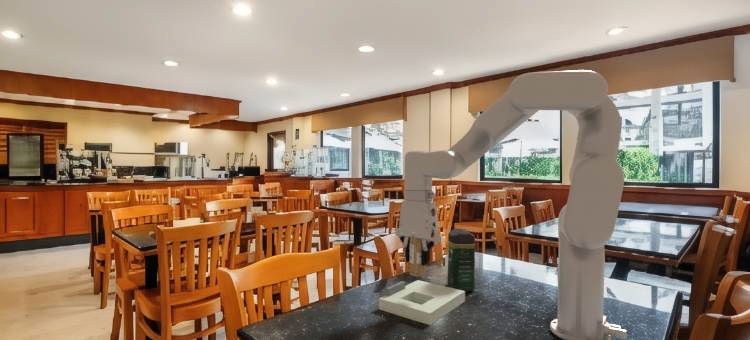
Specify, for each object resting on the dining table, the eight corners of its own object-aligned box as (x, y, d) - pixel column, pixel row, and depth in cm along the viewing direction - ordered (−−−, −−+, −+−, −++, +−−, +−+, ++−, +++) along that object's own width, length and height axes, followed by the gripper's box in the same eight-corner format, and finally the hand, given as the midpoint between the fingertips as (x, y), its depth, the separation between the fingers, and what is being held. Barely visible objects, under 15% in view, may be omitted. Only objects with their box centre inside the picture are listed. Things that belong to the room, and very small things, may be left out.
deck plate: (464, 301, 110) (465, 284, 110) (430, 325, 94) (430, 305, 94) (417, 289, 120) (417, 273, 119) (379, 309, 104) (379, 291, 104)
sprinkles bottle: (424, 277, 101) (425, 227, 101) (407, 275, 102) (408, 226, 102) (426, 271, 106) (426, 224, 106) (409, 270, 107) (410, 223, 106)
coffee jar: (477, 293, 117) (478, 233, 116) (452, 293, 116) (452, 233, 116) (468, 282, 126) (469, 227, 126) (445, 282, 126) (445, 227, 125)
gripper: (452, 197, 101) (451, 265, 102) (400, 193, 112) (399, 254, 112) (438, 199, 95) (437, 271, 96) (385, 195, 106) (384, 260, 106)
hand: (417, 261), depth 104 cm, fingers closed on sprinkles bottle, 4 cm apart
